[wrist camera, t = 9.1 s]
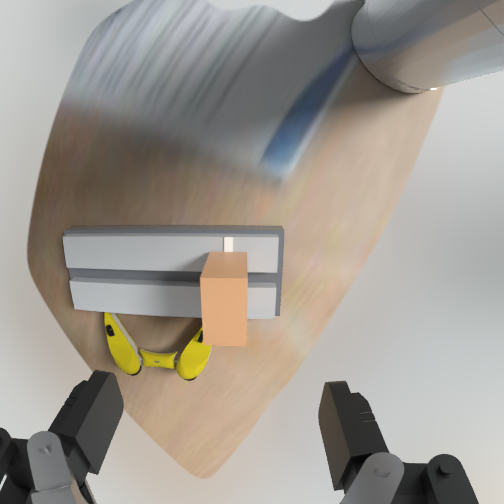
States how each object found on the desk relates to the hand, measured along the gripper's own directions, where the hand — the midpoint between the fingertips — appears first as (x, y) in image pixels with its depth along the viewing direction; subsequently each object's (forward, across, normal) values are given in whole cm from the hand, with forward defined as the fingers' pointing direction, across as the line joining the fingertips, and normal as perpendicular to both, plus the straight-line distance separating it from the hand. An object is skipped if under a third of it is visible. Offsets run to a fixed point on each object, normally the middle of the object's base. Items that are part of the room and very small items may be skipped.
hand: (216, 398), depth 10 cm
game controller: (+15, +7, +7) cm, 18 cm away
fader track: (+15, +5, 0) cm, 16 cm away
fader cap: (+13, 0, 0) cm, 13 cm away
